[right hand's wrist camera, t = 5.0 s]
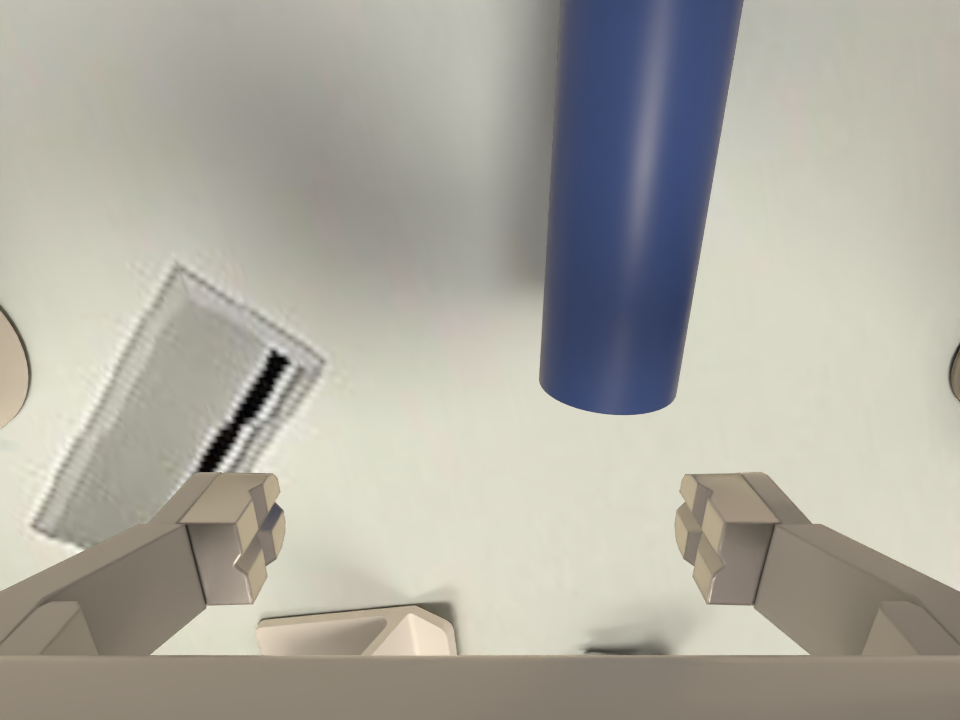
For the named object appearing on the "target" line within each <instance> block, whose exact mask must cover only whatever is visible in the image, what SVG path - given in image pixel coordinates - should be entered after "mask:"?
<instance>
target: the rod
mask: <svg viewBox="0 0 960 720" xmlns="http://www.w3.org/2000/svg"><path fill="white" fill-rule="evenodd" d="M743 1H744V0H561V5H560V22H559V40H558V57H557V75H556V92H555V110H554V127H553V145H552V162H551V180H550V198H549V215H548V233H547V250H546V268H545V285H544V303H543V320H542V338H541V355H540V373H539V381H540V385H541V387H542V388H543V389H544V391H545V392H546V393H547V394H549V395H550V396H551V397H553V398H554V399H556V400H558V401H560V402H562V403H564V404H567V405H569V406H572V407H575V408H578V409H582V410H586V411H590V412H595V413H602V414H612V415H636V414H644V413H649V412H654V411H657V410H660V409H662V408H664V407H666V406H668V405H669V404H670V403H671V402H673V400H674V399H675V397H676V393H677V387H678V381H679V375H680V369H681V363H682V358H683V352H684V346H685V340H686V334H687V328H688V322H689V317H690V311H691V305H692V299H693V293H694V287H695V282H696V276H697V270H698V264H699V258H700V252H701V246H702V241H703V235H704V229H705V223H706V217H707V211H708V206H709V200H710V194H711V188H712V182H713V176H714V170H715V165H716V159H717V153H718V147H719V141H720V135H721V130H722V124H723V118H724V112H725V106H726V100H727V94H728V89H729V83H730V77H731V71H732V65H733V59H734V53H735V48H736V42H737V36H738V30H739V24H740V18H741V13H742V7H743Z"/></svg>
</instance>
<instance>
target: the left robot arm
mask: <svg viewBox="0 0 960 720" xmlns="http://www.w3.org/2000/svg"><path fill="white" fill-rule="evenodd" d="M951 383H952V388H953V391H954V393H955V395H956V397H957V398H958V399H959V401H960V349H959V351H958V353H957V355H956V358H955V360H954V363H953V367H952V372H951Z"/></svg>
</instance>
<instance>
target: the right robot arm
mask: <svg viewBox="0 0 960 720" xmlns="http://www.w3.org/2000/svg"><path fill="white" fill-rule="evenodd" d="M27 389H28V366H27V361H26V357H25V354H24V350H23V348H22V345H21V343H20V341H19V338H18V336H17V334H16V333H15V331H14V329H13V327H12V326H11V324H10V323H9V321H8V320H7V318H6V317H5V316H4V314H3V313H2V312H1V311H0V428H2V427H3V426H5V425H6V424H7V423H8V422H10V421H11V420H12V419H13V418H14V417H15V415H16V414H17V413H18V412H19V410H20V408H21V407H22V405H23V402H24V400H25V397H26V394H27ZM279 493H280V488H279V483H278V478H277V477H276V476H275V475H274V474H271V473H221V472H202V473H196V474H193V475H192V476H191V477H190V478H189V479H188V480H187V481H186V483H185V484H184V485H183V486H182V487H181V488H180V489H179V490H178V491H177V492H176V493H175V495H174V496H173V497H172V498H171V499H170V500H169V501H168V502H167V503H166V504H165V505H164V506H163V508H162V509H161V510H160V511H159V512H158V513H157V514H156V515H155V516H154V517H153V518H152V520H151V521H150V522H149V523H148V524H138V525H136V526H134V527H132V528H130V529H128V530H126V531H124V532H122V533H120V534H118V535H116V536H113V537H111V538H109V539H107V540H105V541H103V542H101V543H99V544H97V545H95V546H93V547H91V548H89V549H87V550H85V551H83V552H81V553H79V554H77V555H74V556H72V557H70V558H68V559H66V560H64V561H62V562H60V563H58V564H56V565H54V566H52V567H50V568H48V569H46V570H44V571H42V572H40V573H38V574H35V575H33V576H31V577H29V578H27V579H25V580H23V581H21V582H19V583H17V584H15V585H13V586H11V587H9V588H7V589H5V590H3V591H1V592H0V720H960V592H959V591H957V590H955V589H953V588H951V587H949V586H947V585H945V584H943V583H941V582H939V581H937V580H935V579H932V578H930V577H928V576H926V575H924V574H922V573H920V572H918V571H916V570H914V569H912V568H910V567H908V566H906V565H904V564H902V563H900V562H898V561H896V560H894V559H892V558H889V557H887V556H885V555H883V554H881V553H879V552H877V551H875V550H873V549H871V548H869V547H867V546H865V545H863V544H861V543H859V542H857V541H855V540H853V539H851V538H849V537H846V536H844V535H842V534H840V533H838V532H836V531H834V530H832V529H830V528H828V527H826V526H824V525H822V524H812V523H811V522H810V521H809V520H808V518H807V517H806V516H805V515H804V514H803V513H802V512H801V511H800V510H799V509H798V508H797V506H796V505H795V504H794V503H793V502H792V501H791V500H790V499H789V498H788V497H787V496H786V494H785V493H784V492H783V491H782V490H781V489H780V488H779V487H778V486H777V485H776V484H775V482H774V481H773V480H772V479H771V478H770V477H769V476H768V475H767V474H764V473H762V472H749V473H728V474H685V475H684V477H683V479H682V482H681V487H680V493H681V495H682V497H683V498H684V500H685V502H684V503H683V504H682V505H681V506H680V507H679V509H678V510H677V511H676V518H675V535H676V541H677V544H678V548H679V550H680V552H681V554H682V556H683V559H685V560H686V561H687V562H689V563H690V564H692V565H693V566H694V571H693V578H694V580H695V582H696V584H697V586H698V588H699V590H700V592H701V594H702V596H703V598H704V599H705V601H706V603H707V604H718V605H753V606H754V608H755V609H756V610H757V611H758V612H759V613H761V614H762V615H763V616H764V617H765V618H767V619H768V620H769V621H770V622H772V623H773V624H774V625H775V626H776V627H778V628H779V629H780V630H781V631H782V632H784V633H785V634H786V635H787V636H788V637H790V638H791V639H792V640H793V641H794V642H796V643H797V644H798V645H799V646H800V647H802V648H803V649H804V650H805V651H807V652H808V653H809V654H810V655H150V654H151V653H152V652H154V651H155V650H156V649H157V648H158V647H160V646H161V645H162V644H163V643H165V642H166V641H167V640H168V639H169V638H171V637H172V636H173V635H174V634H175V633H177V632H178V631H179V630H180V629H181V628H183V627H184V626H185V625H186V624H188V623H189V622H190V621H191V620H192V619H194V618H195V617H196V616H197V615H198V614H200V613H201V612H202V611H203V610H204V609H206V606H207V605H241V604H254V602H255V600H256V598H257V596H258V594H259V592H260V590H261V588H262V586H263V584H264V582H265V580H266V578H267V571H266V566H267V565H268V564H270V563H271V562H273V561H274V560H275V559H277V557H278V554H279V552H280V550H281V548H282V544H283V540H284V535H285V517H284V511H283V509H282V508H281V507H280V506H279V505H278V504H277V503H276V502H275V500H276V498H277V497H278V495H279Z"/></svg>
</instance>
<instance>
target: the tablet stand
mask: <svg viewBox="0 0 960 720" xmlns="http://www.w3.org/2000/svg"><path fill="white" fill-rule="evenodd" d="M255 635H256V638H257V641H258V644H259V647H260V650H261V652H262V655H457V650H456V643H455V636H454V629H453V627H452V625H451V624H450V623H449V622H448V621H447V620H445V619H443V618H441V617H439V616H437V615H435V614H432V613H430V612H428V611H426V610H424V609H422V608H420V607H418V606H415V605H413V606H403V607H392V608H382V609H372V610H361V611H351V612H340V613H330V614H320V615H309V616H299V617H288V618H278V619H268V620H262V621H261V622H260V623H259V624H258V627H257V629H256V632H255Z"/></svg>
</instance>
